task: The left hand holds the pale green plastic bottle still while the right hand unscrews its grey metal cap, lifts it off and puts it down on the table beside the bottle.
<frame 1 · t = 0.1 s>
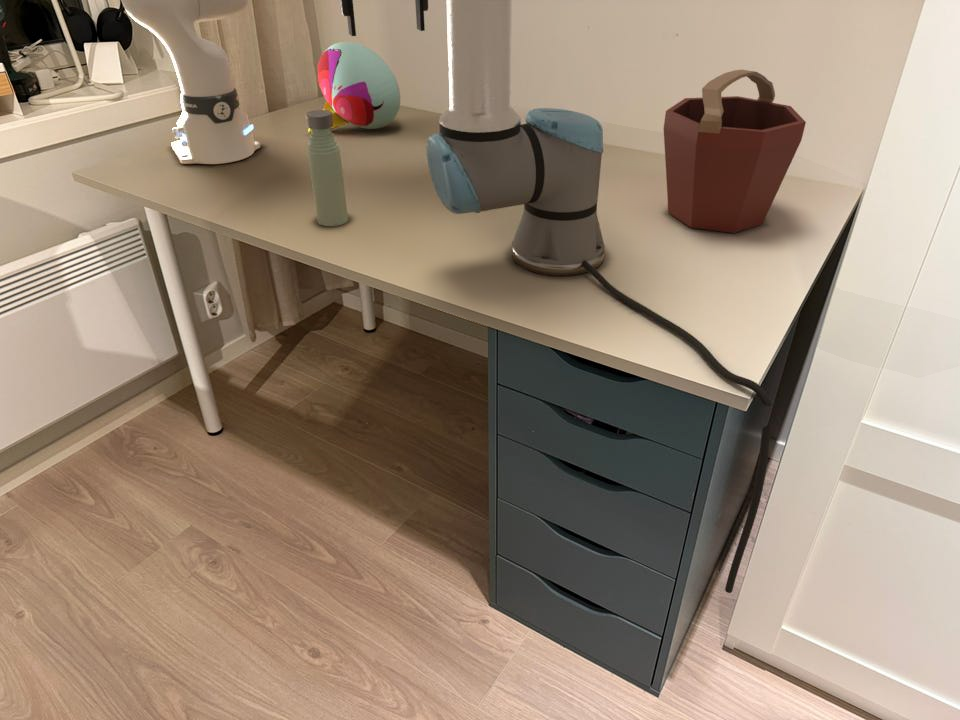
right hand: (387, 32, 136), 28 cm above the table, tool pointing down, fingers open, 13 cm apart
cap: (318, 115, 120), point 19 cm above the table, screwed on, not yet turned
bucket: (711, 214, 132), on the table
bottle: (332, 220, 131), on the table
toy: (354, 128, 180), on the table
beverage cup: (486, 158, 159), on the table
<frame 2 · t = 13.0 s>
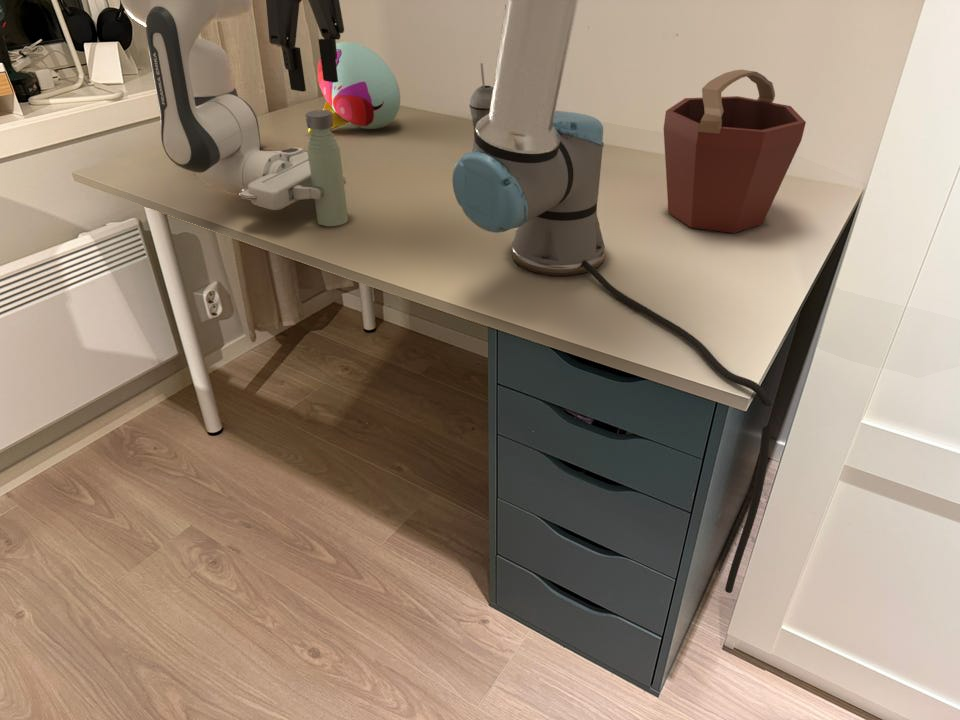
left hand: (332, 187, 127), 7 cm above the table, tool horizontal, fingers closed on bottle, 5 cm apart
right hand: (314, 85, 117), 24 cm above the table, tool pointing down, fingers open, 7 cm apart
bottle: (333, 220, 131), on the table, touching left hand
everything else where it was.
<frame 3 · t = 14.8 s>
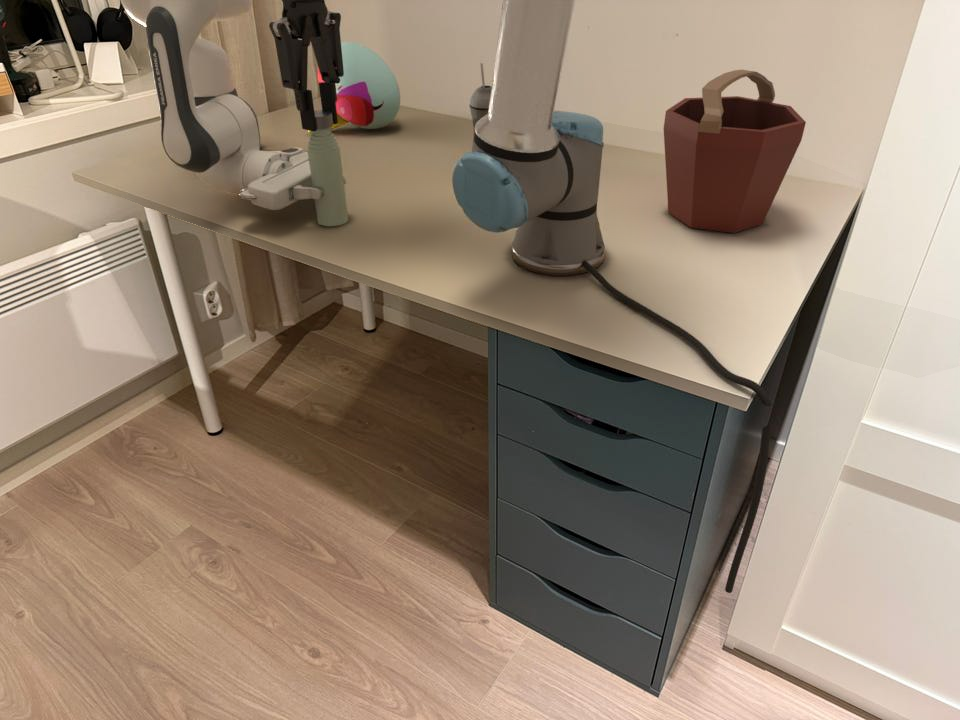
left hand: (332, 187, 127), 7 cm above the table, tool horizontal, fingers closed on bottle, 5 cm apart
right hand: (320, 125, 121), 17 cm above the table, tool pointing down, fingers closed on cap, 4 cm apart
cap: (319, 115, 120), point 19 cm above the table, screwed on, not yet turned, touching right hand
bottle: (333, 220, 131), on the table, touching left hand
everything else where it was.
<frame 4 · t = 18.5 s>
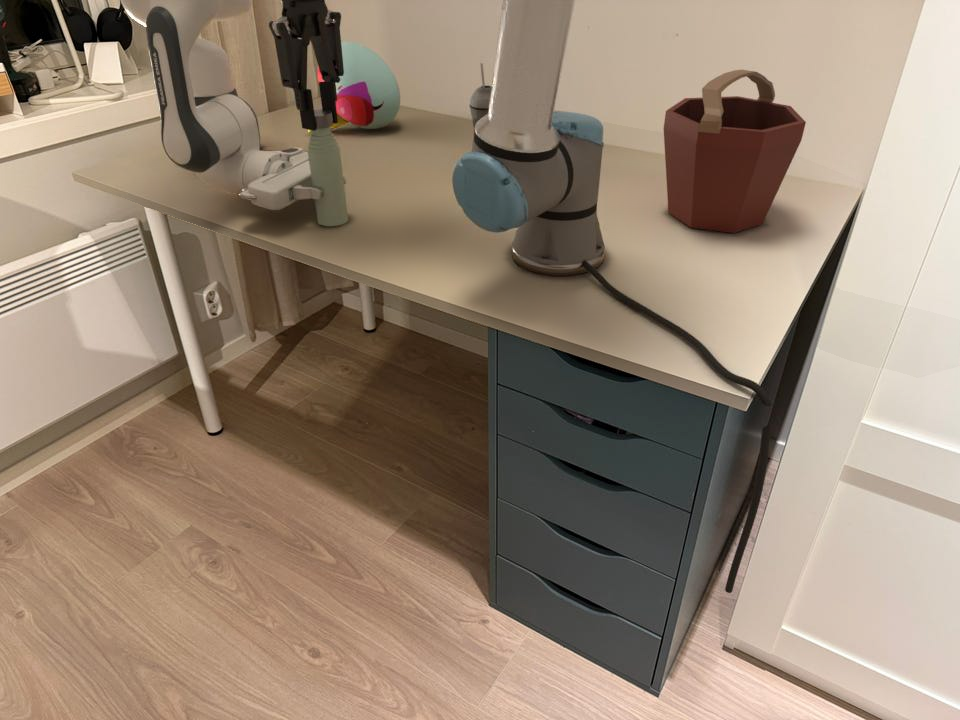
left hand: (332, 187, 127), 7 cm above the table, tool horizontal, fingers closed on bottle, 5 cm apart
right hand: (320, 125, 121), 17 cm above the table, tool pointing down, fingers closed on cap, 4 cm apart
cap: (318, 114, 120), point 19 cm above the table, turned 132° so far, risen 0.1 cm, still on its thread, touching right hand
bottle: (333, 220, 131), on the table, touching left hand
everything else where it was.
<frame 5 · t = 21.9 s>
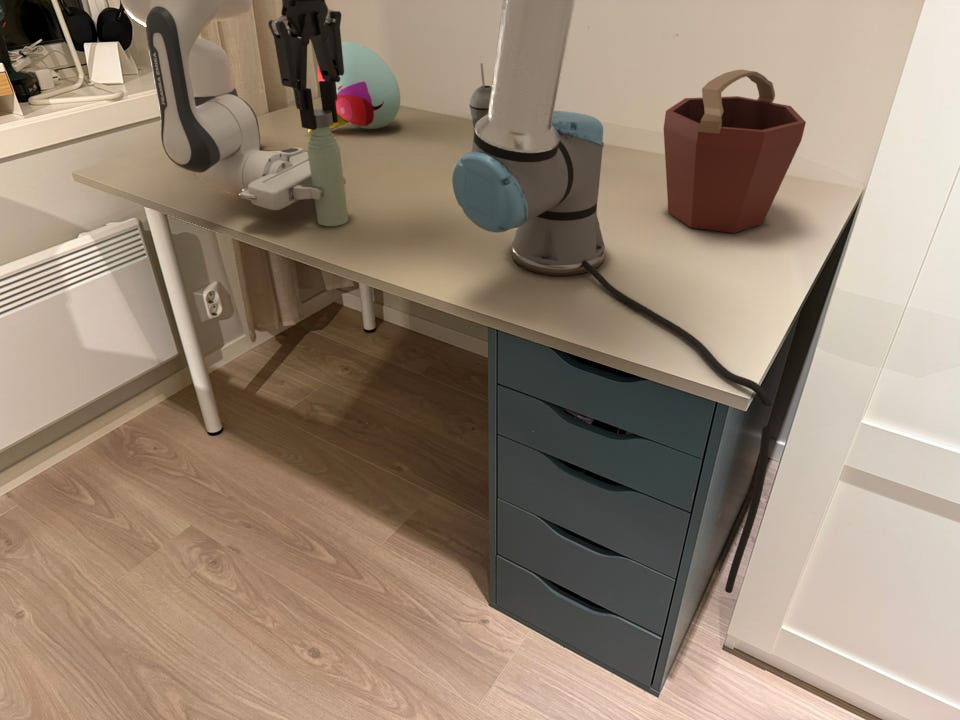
left hand: (332, 187, 127), 7 cm above the table, tool horizontal, fingers closed on bottle, 5 cm apart
right hand: (320, 124, 121), 18 cm above the table, tool pointing down, fingers closed on cap, 4 cm apart
cap: (318, 113, 120), point 19 cm above the table, turned 263° so far, risen 0.2 cm, still on its thread, touching right hand
bottle: (333, 220, 131), on the table, touching left hand
everything else where it was.
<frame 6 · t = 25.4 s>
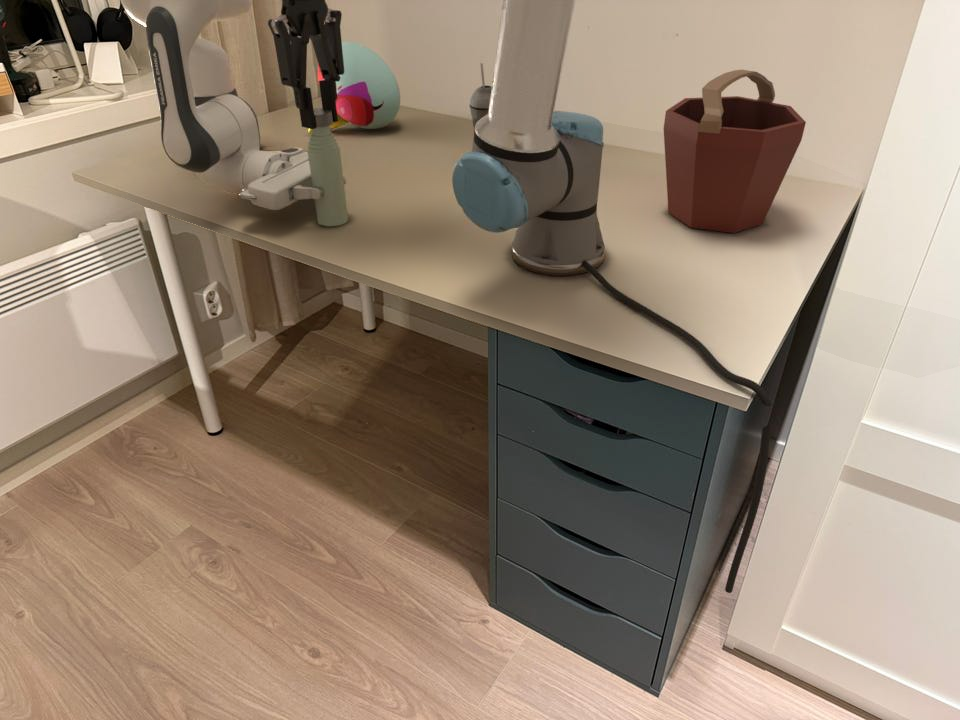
left hand: (332, 187, 127), 7 cm above the table, tool horizontal, fingers closed on bottle, 5 cm apart
right hand: (320, 123, 121), 18 cm above the table, tool pointing down, fingers closed on cap, 4 cm apart
cap: (318, 113, 120), point 19 cm above the table, turned 395° so far, risen 0.4 cm, still on its thread, touching right hand
bottle: (333, 220, 131), on the table, touching left hand
everything else where it was.
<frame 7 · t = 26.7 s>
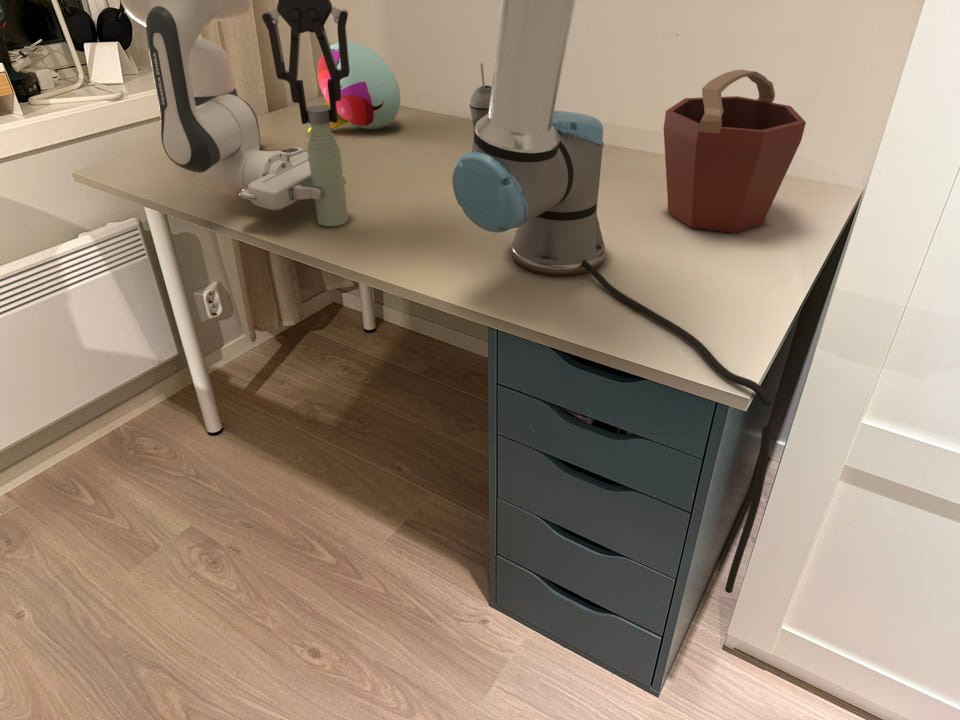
left hand: (332, 187, 127), 7 cm above the table, tool horizontal, fingers closed on bottle, 5 cm apart
right hand: (320, 120, 121), 18 cm above the table, tool pointing down, fingers closed on cap, 4 cm apart
cap: (318, 110, 120), point 20 cm above the table, off its thread, touching right hand
bottle: (333, 220, 131), on the table, touching left hand
everything else where it was.
when the right hand's fingers open (1 cm above the table, at t = 32.5 s): cap drops 1 cm, point 2 cm above the table.
when the left hand's fingers open (7 cm above the table, at t = 33.9 s): bottle stays where it is, on the table.
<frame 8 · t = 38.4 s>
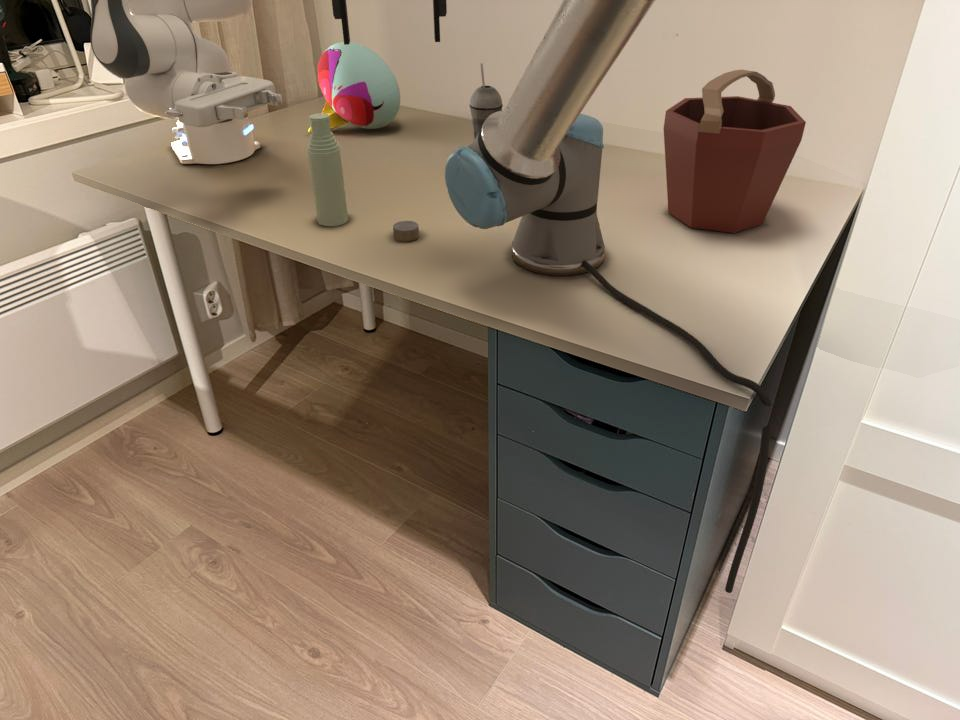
left hand: (262, 106, 124), 19 cm above the table, tool horizontal, fingers open, 8 cm apart
right hand: (392, 42, 107), 32 cm above the table, tool pointing down, fingers open, 13 cm apart
cap: (405, 227, 124), point 2 cm above the table, off its thread
bottle: (333, 220, 131), on the table
everything else where it was.
at the end: cap came off its thread; cap point 1.8 cm above the table; the left hand is holding nothing; the right hand is holding nothing; bottle tilted 0°; bottle moved 0.0 cm from its start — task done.
